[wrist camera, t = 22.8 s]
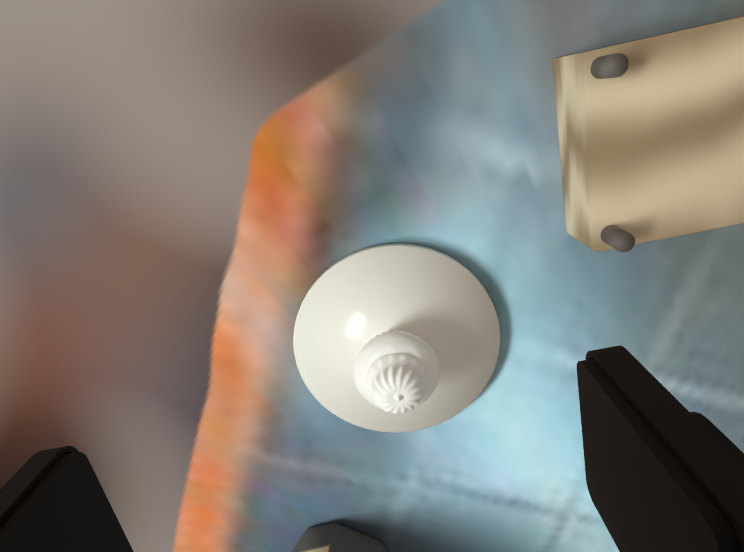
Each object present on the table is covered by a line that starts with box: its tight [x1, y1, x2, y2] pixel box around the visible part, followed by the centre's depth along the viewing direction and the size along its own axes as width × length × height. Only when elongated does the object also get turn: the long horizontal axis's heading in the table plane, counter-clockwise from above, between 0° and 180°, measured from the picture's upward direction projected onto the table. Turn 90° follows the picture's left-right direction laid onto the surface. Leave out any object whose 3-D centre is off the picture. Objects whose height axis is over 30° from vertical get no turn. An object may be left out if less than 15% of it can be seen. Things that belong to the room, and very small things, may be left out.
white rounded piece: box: [353, 330, 440, 414], centre depth 36 cm, size 6×6×7 cm
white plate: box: [293, 243, 500, 432], centre depth 39 cm, size 16×16×1 cm
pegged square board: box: [553, 17, 744, 252], centre depth 31 cm, size 12×12×7 cm
